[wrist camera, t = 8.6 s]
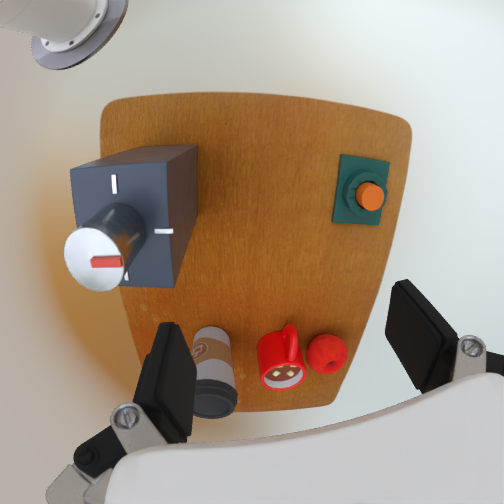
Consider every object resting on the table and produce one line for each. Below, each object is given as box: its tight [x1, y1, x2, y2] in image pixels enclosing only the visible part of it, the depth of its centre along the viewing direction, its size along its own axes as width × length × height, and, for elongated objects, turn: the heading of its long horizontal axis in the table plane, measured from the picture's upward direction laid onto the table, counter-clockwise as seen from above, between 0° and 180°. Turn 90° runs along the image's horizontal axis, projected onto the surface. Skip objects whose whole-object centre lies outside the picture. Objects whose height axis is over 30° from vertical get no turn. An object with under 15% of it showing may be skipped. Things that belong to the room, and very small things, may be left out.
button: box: [356, 182, 384, 211], centre depth 35 cm, size 4×4×2 cm
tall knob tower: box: [70, 145, 198, 288], centre depth 27 cm, size 10×9×18 cm
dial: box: [64, 203, 146, 292], centre depth 17 cm, size 4×4×5 cm
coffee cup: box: [190, 326, 238, 419], centre depth 41 cm, size 8×8×15 cm
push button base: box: [332, 154, 390, 225], centre depth 36 cm, size 10×8×2 cm
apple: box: [306, 334, 348, 374], centre depth 47 cm, size 8×8×7 cm
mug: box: [257, 324, 306, 391], centre depth 45 cm, size 8×12×8 cm, turn 171°
